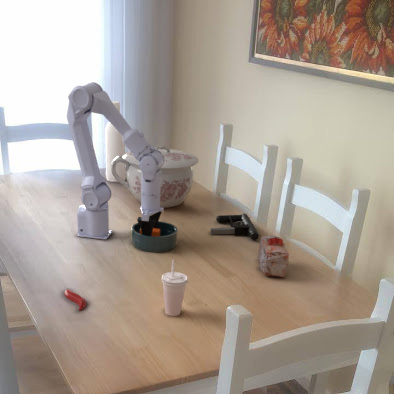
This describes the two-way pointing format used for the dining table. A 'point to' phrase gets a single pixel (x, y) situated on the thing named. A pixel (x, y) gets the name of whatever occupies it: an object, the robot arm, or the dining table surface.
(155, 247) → the bowl
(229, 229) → the machine pistol
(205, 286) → the dining table surface
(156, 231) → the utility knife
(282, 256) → the food item
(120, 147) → the bottle
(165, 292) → the smoothie
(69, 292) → the cayenne pepper
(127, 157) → the chamber pot
